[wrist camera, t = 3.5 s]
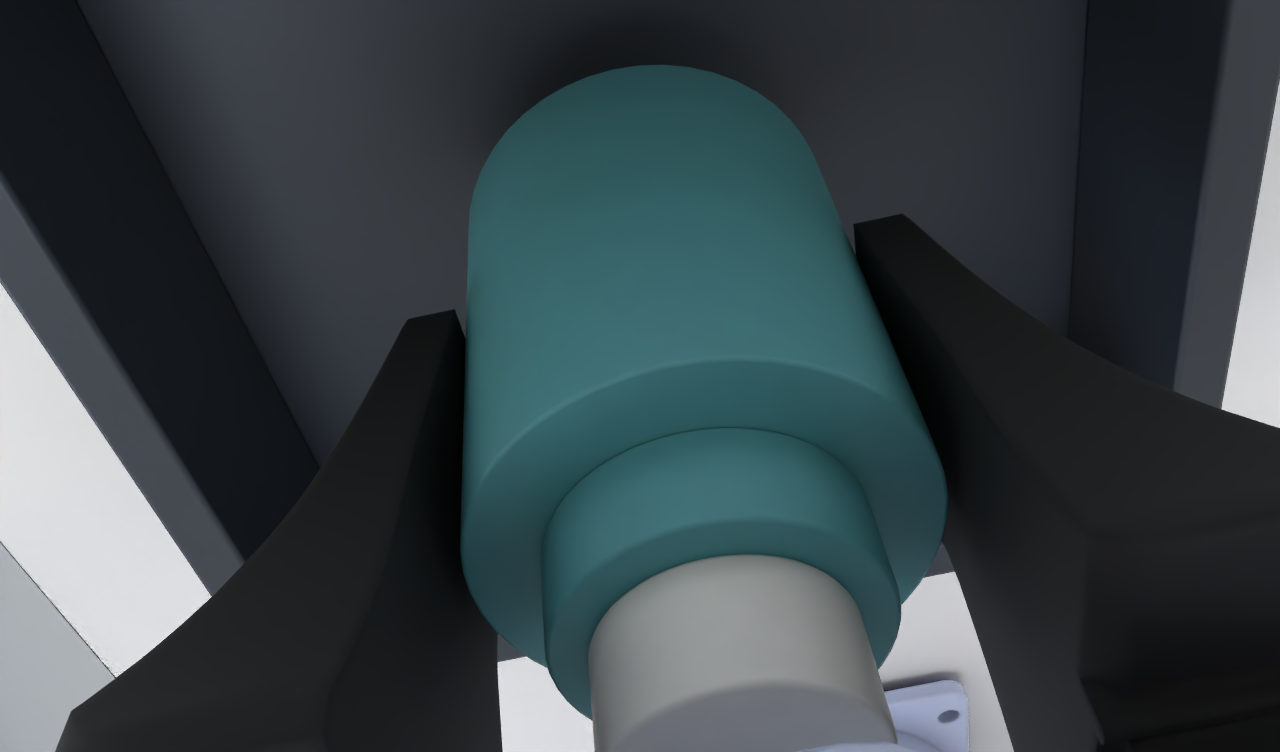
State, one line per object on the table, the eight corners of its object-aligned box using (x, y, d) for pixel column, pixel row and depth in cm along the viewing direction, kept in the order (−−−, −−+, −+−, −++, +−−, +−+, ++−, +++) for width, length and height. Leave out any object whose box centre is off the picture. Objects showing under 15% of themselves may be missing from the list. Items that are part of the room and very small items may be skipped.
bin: (1100, 358, 23) (1203, 524, 19) (312, 521, 23) (283, 706, 20) (1172, -512, 14) (1382, -479, 11) (-89, -209, 15) (-256, -91, 11)
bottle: (837, 329, 18) (1032, 863, 12) (520, 395, 18) (535, 956, 12) (805, 24, 15) (1050, 524, 8) (422, 110, 15) (369, 661, 9)
